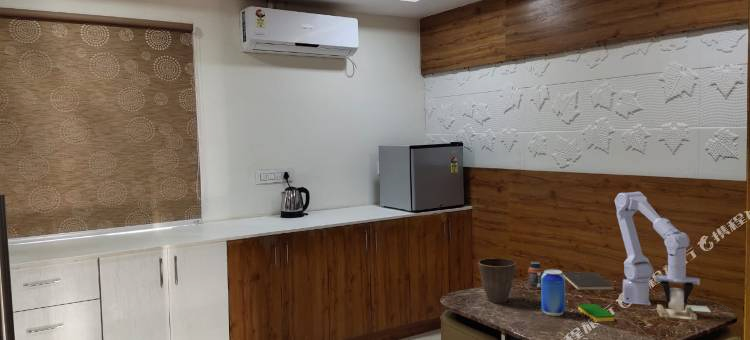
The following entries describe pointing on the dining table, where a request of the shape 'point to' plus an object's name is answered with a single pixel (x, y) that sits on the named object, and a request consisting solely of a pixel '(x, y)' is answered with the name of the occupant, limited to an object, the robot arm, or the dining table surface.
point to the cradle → (676, 313)
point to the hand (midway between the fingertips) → (676, 302)
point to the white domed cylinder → (676, 299)
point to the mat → (699, 308)
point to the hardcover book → (588, 281)
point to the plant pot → (497, 278)
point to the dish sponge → (596, 312)
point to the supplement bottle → (534, 275)
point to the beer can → (553, 292)
